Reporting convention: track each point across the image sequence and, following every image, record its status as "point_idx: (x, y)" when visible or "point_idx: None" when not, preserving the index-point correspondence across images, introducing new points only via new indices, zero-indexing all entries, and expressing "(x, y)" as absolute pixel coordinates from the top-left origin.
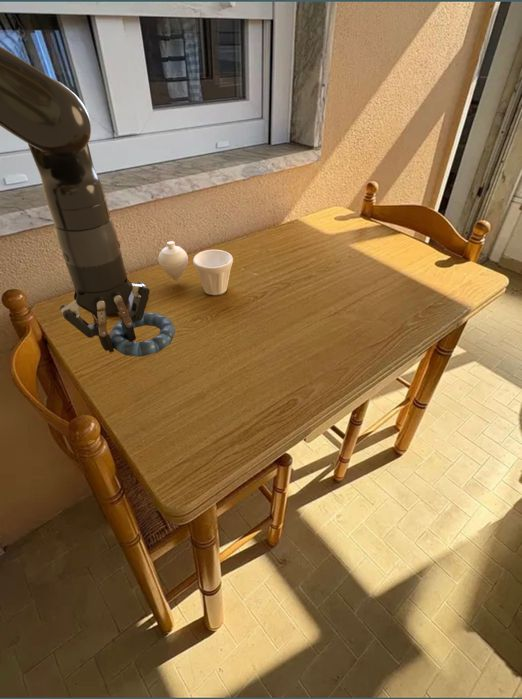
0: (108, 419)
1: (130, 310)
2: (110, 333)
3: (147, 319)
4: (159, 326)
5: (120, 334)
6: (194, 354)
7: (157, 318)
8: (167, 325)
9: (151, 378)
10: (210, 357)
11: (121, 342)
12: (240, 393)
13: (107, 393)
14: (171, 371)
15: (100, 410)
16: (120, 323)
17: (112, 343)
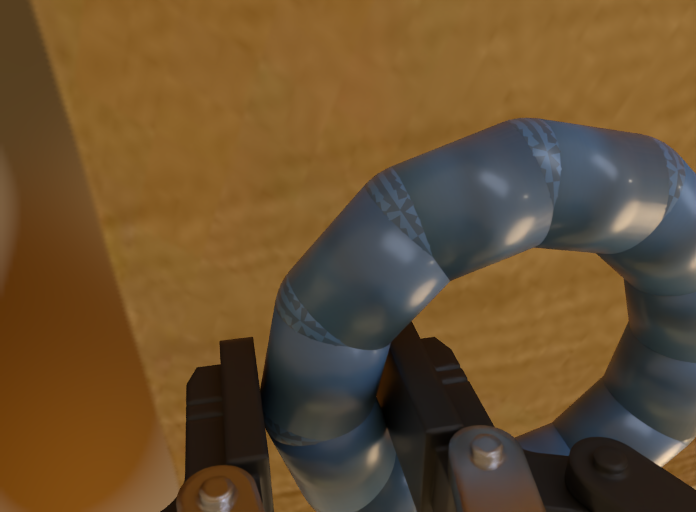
0: (114, 238)
1: (588, 488)
2: (295, 337)
3: (631, 273)
4: (641, 360)
5: (363, 398)
6: (641, 32)
7: (692, 323)
8: (683, 437)
9: (379, 87)
10: (678, 100)
11: (334, 492)
12: (613, 341)
13: (139, 71)
14: (483, 92)
15: (85, 170)
16: (424, 278)
17: (271, 437)
